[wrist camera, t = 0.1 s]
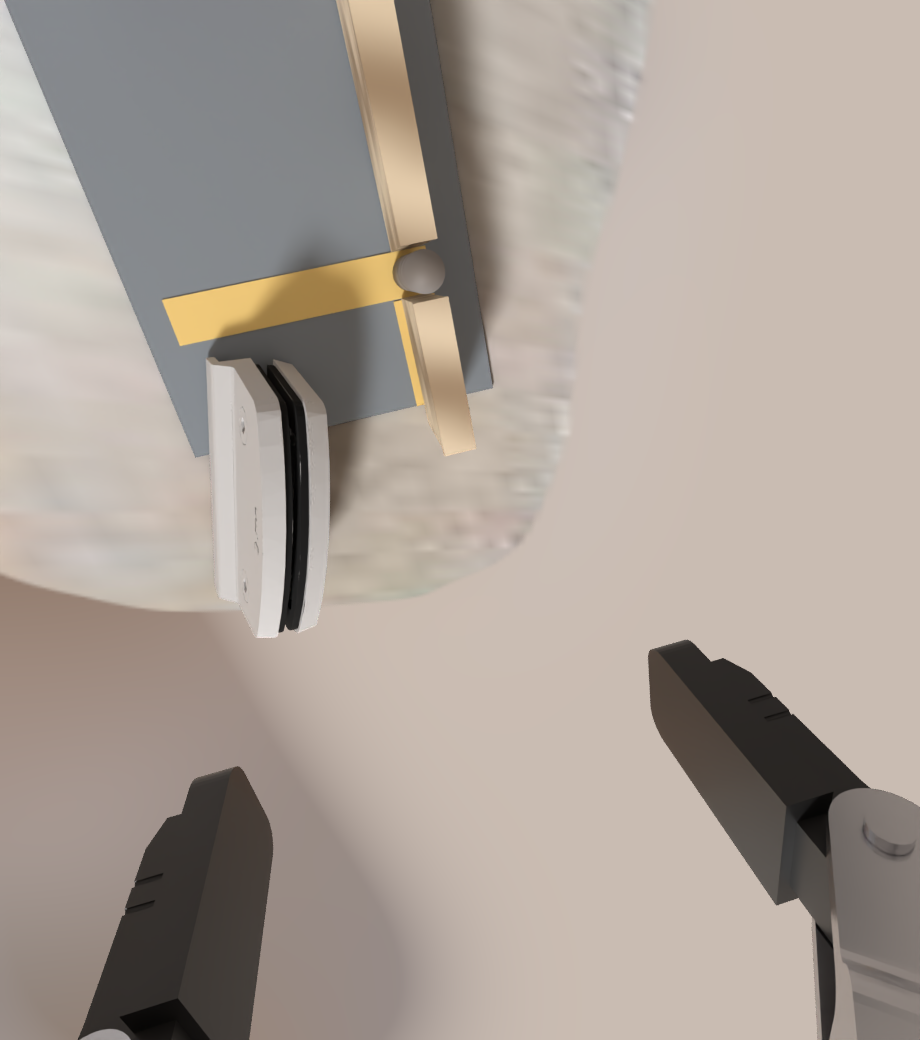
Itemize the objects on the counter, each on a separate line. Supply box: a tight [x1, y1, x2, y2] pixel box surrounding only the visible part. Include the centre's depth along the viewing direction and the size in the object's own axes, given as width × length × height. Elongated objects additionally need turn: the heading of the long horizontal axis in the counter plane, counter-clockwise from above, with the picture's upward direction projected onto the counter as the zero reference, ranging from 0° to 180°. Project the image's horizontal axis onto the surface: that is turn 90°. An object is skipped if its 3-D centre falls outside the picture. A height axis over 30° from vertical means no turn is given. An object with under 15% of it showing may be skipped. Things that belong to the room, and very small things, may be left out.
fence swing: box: [336, 0, 437, 252], centre depth 27 cm, size 13×2×8 cm, turn 11°
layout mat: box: [4, 0, 493, 458], centre depth 32 cm, size 23×20×1 cm
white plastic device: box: [206, 357, 330, 638], centre depth 34 cm, size 17×5×10 cm, turn 172°
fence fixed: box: [392, 249, 476, 456], centre depth 32 cm, size 10×2×8 cm, turn 11°
